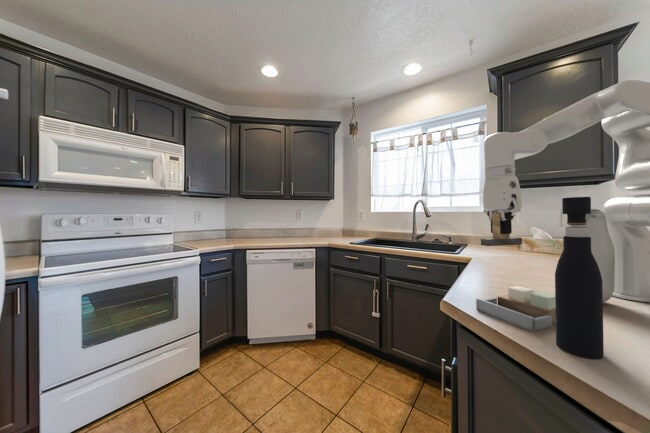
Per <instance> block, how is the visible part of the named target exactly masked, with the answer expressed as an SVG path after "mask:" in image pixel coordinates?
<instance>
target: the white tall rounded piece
mask: <svg viewBox="0 0 650 433" xmlns="http://www.w3.org/2000/svg"><path fill="white" fill-rule="evenodd" d="M567 227H588V230H589V231H588V233H589V235H588V237H591V252H592V254H593V256H594V258H595V260H596V262H597V264H598V266H599V270H600V273H601V277H602V287H603V303H605V302H608V301H609V300H610V299H611V298H612V297H613V296H612V295H613V293H614V287H615V252H614V246H613V243H612V240H611V238H610V235H609V232H608V227H607V222H606V217H605V215H604V213H603V212H602V210H600V209H598V208H593V207H591V214H586V225H568V226H567ZM563 250H564V248H562V251H563Z"/></svg>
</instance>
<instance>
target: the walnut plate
mask: <svg viewBox="0 0 650 433" xmlns="http://www.w3.org/2000/svg"><path fill="white" fill-rule="evenodd" d="M497 305H499V306H502V307H505V308H508V309H511V310H514V311H517V312H519V313H522V314H525V315H528V316H531V317H534V318H537V317H541V316H546V315H550V316H552V324H556V309H553V310H546V309H542V308H539V307H536V306H533V305H530V302H526V303H523V302H520V301H516V300H513V299H510V298H508V294H504V295H499V296H497Z"/></svg>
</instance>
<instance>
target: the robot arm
mask: <svg viewBox="0 0 650 433" xmlns="http://www.w3.org/2000/svg"><path fill="white" fill-rule="evenodd" d="M599 122H601V123H600V124H601V128H602V130H603V132H605V133H606V134H607V135H609V137H611V138H612V139H613V140H614V141H615V142H616V144H617V145H618V149H619V150H618V151H619V152H618V153H619V154H618V160H617V165H616V171H615V176H614V184H615V187H616V188H617V189H619V190H621V191H624V192H647V191H650V129H648V128H650V82H649V81H644V80H637V79H629V80H628V79H627V80H622V81H619V82H618V83H616V84H613V85H611V86H608V87H607V88H605V89H601V90H599V91H597V92H595V93H592V94H591V95H588V96H587V97H585V98H583V99H581V100H578V101H577V102H575V103H573V104H570V105H568V106H566V107H565V108H563V109H561V110H559V111H557V112H555V113H553V114H551V115H549V116H548V117H544V118H543V119H542V120H540V121H538V122H536V123H535V124H533V125H531V126H528V127H527V128H525V129H523V130H521V131H515V132H514V131H513V132H509V131H502V132H501V131H500V132H495V133H492V134H490V135H488V136H486V137H485V138H484V141H483V142H484V143H483V147H484V148H483V149H484V151H483V152H484V183H483V196H482V199H483V200H482V203H483V213H484V214H486V215H487V217H488V220H489V221H490V233H491V234H493V228H492V213H501V219H502V221H500V233H501V234H510V235H511V234H512V233H513V230H512V221H514V217H515V216H516V215H517V214H518V213H520V212H521V210H522V193H521V192H522V190H521V186H520V182H519V179H518V176H516V170H517V168H516V165H515V164H516V163H515V161H516V160H520V159H522V158H527V157H531V156H534V155H536V154H539V153H541V152H542V151H543V150H545V149H546V147H547V146H548V145H549V144H553V143H556V142H559V141H562V140H565V139H567V138H570V137H572V136H574V135H575V134H578V133H579V132H581V131H583V130H585V129H587V128H589V127H591V126H593V125H596V124H598V123H599ZM506 212H508V213H507V214H506ZM601 212H603V213H604V215H605V217H606V222H607V227H608V232H609V235H610V238H611V240H612V243H613V246H614V252H615V287H614V293H613V295H612V297H615V298H619V299H623V300H630V301H635V302H643V303H650V229H649V228H648V227H650V193H647V194H643V193H642V194H629V195H628V194H626V195H620V196H616V197H612V198H610V199H608V200H607V201H605V202H604V204H603V205H602V208H601Z"/></svg>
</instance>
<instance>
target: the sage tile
mask: <svg viewBox="0 0 650 433" xmlns="http://www.w3.org/2000/svg"><path fill="white" fill-rule="evenodd" d="M530 305H533V306H536V307H539V308H542V309H546V310H553V309H556V305H555V294H552V293H548V292H543V291H536V292H535V291H534V293H530Z"/></svg>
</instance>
